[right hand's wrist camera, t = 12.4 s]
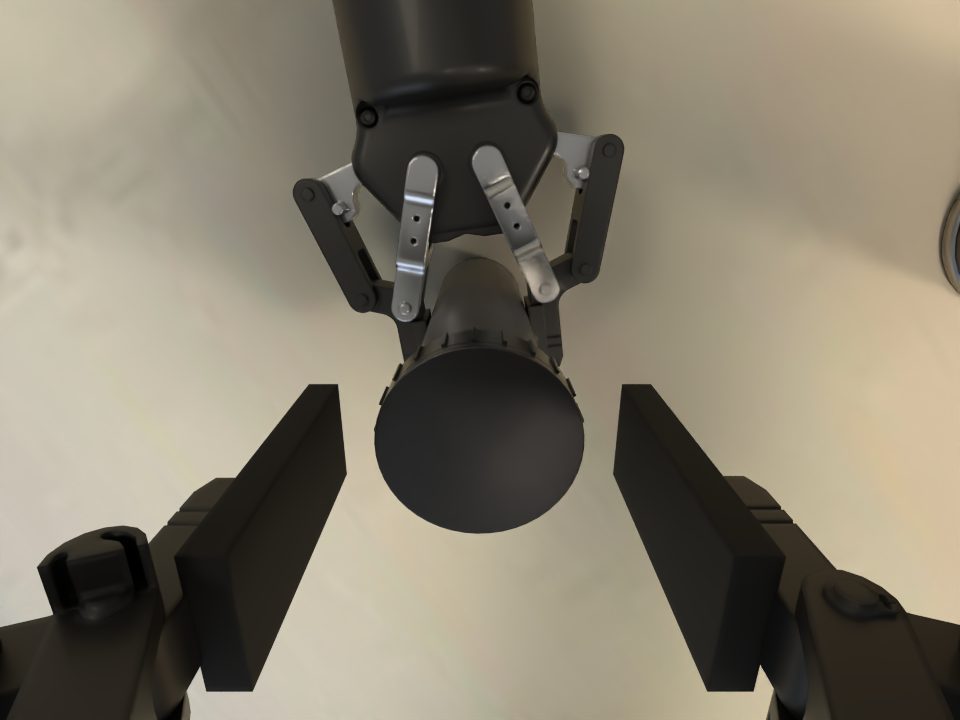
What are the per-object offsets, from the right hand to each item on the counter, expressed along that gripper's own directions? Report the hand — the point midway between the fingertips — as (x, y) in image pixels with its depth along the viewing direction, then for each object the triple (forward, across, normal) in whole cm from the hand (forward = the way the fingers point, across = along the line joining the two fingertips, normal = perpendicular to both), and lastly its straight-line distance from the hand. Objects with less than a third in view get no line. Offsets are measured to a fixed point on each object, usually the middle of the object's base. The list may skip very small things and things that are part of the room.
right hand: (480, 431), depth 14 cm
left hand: (+11, 0, -3) cm, 11 cm away
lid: (0, 0, 0) cm, 0 cm away
